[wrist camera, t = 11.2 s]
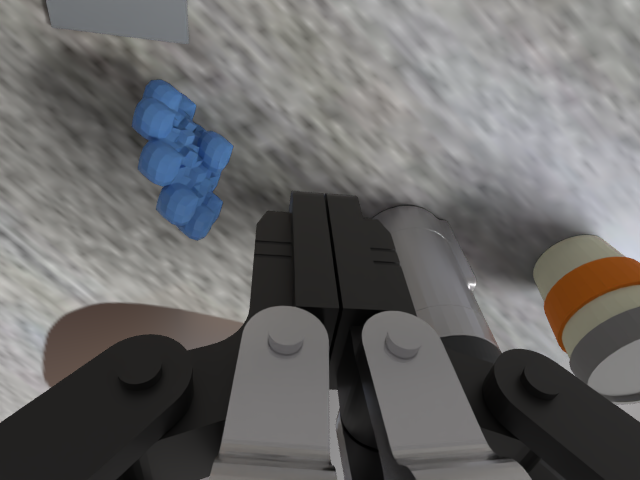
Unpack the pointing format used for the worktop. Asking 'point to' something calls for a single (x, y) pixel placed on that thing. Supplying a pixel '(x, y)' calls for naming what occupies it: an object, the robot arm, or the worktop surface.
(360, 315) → the robot arm
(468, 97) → the worktop surface
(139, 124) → the grapes
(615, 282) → the reusable coffee cup
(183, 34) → the rubber mat
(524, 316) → the worktop surface
